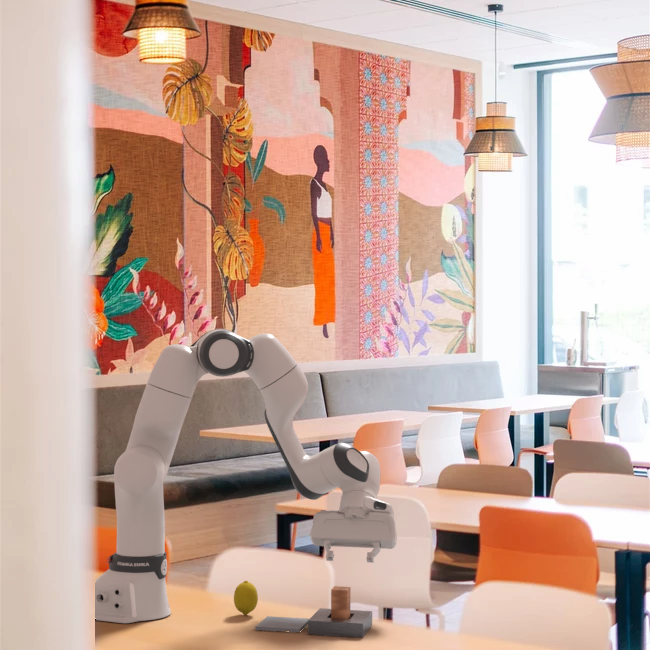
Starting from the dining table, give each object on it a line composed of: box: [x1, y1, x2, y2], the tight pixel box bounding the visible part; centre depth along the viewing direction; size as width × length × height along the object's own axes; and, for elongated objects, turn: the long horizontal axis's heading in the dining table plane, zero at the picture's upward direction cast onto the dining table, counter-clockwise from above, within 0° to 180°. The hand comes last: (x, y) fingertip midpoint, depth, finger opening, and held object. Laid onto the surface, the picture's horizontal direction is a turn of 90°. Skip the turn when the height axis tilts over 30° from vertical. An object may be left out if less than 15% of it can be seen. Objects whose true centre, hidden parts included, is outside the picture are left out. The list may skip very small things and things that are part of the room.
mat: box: [254, 615, 310, 633], centre depth 236 cm, size 10×10×1 cm
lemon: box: [233, 580, 259, 616], centre depth 246 cm, size 6×6×8 cm
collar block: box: [307, 607, 373, 639], centre depth 233 cm, size 12×12×3 cm
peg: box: [330, 585, 351, 619], centre depth 233 cm, size 4×4×9 cm
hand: (349, 560), depth 244 cm, fingers open, 8 cm apart
